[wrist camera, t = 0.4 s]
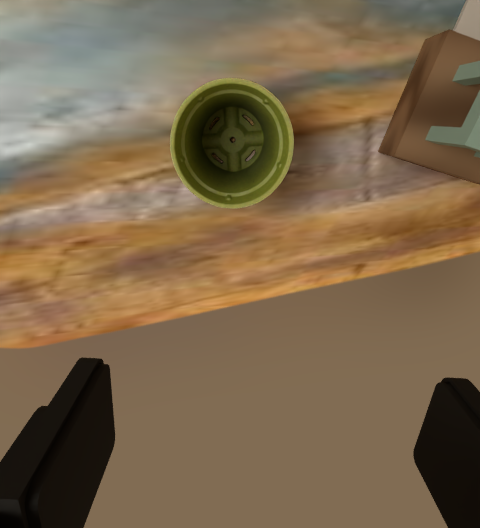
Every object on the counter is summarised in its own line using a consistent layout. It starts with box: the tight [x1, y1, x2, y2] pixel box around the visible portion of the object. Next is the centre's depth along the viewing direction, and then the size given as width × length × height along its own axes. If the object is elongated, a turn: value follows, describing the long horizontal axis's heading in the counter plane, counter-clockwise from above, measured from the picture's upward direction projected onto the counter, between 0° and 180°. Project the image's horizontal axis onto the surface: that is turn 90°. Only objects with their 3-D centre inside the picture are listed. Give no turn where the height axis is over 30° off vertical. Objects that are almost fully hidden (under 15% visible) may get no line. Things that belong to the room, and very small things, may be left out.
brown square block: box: [378, 30, 480, 184], centre depth 33 cm, size 10×10×4 cm
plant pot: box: [170, 78, 294, 208], centre depth 31 cm, size 9×9×9 cm
